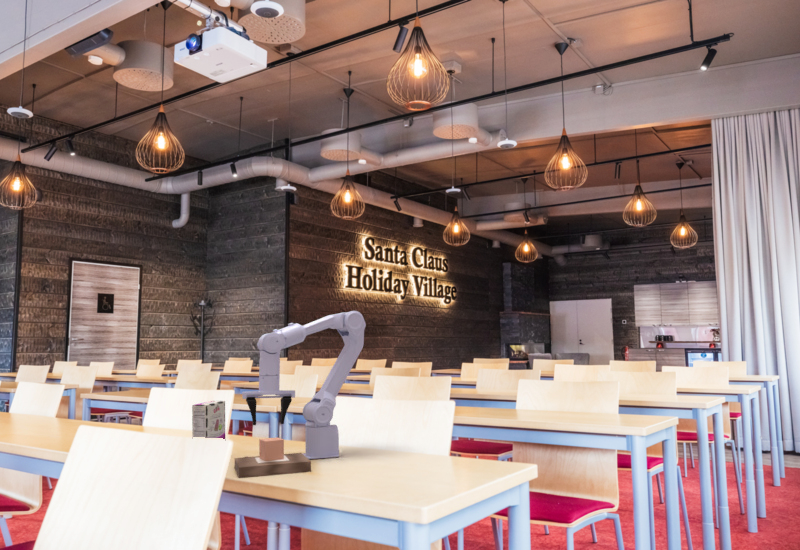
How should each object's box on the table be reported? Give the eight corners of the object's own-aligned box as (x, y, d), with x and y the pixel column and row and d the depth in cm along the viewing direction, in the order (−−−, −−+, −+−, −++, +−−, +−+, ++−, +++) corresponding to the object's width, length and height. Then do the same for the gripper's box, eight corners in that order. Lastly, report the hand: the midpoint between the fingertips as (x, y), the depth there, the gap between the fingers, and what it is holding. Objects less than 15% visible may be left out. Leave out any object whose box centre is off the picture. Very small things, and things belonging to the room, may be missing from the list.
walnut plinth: (301, 462, 173) (301, 452, 173) (310, 471, 160) (310, 460, 160) (234, 467, 167) (234, 457, 167) (238, 477, 154) (239, 466, 154)
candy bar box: (210, 456, 186) (211, 400, 188) (225, 456, 185) (226, 400, 187) (190, 463, 175) (191, 404, 177) (207, 463, 174) (207, 404, 176)
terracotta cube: (277, 456, 167) (277, 437, 168) (283, 459, 163) (283, 439, 164) (259, 458, 165) (259, 439, 165) (265, 461, 161) (265, 441, 161)
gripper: (292, 374, 183) (291, 421, 181) (241, 375, 178) (240, 423, 176) (296, 375, 176) (295, 424, 174) (244, 376, 171) (242, 426, 170)
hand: (268, 424), depth 175 cm, fingers open, 7 cm apart
